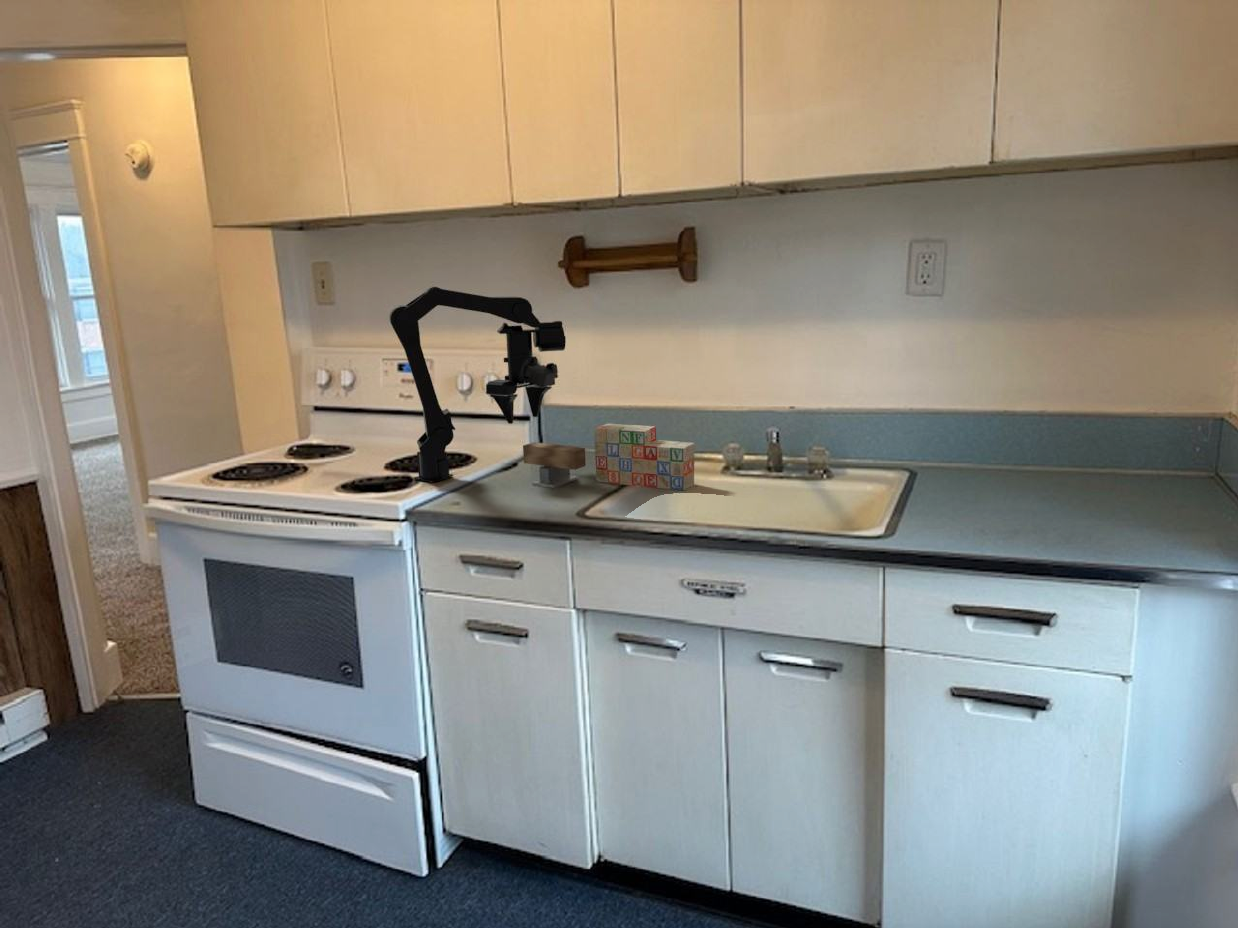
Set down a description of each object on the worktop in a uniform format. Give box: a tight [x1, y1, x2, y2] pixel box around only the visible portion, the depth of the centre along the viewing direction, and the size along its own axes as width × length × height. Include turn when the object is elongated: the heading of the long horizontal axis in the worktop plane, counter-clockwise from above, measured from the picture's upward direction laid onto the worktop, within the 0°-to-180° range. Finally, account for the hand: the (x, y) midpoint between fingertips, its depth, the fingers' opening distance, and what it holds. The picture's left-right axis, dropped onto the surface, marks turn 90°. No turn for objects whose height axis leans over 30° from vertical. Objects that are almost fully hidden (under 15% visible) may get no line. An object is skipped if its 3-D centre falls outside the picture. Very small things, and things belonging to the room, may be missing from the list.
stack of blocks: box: [593, 423, 695, 491], centre depth 189 cm, size 21×6×12 cm, turn 62°
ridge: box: [531, 466, 579, 489], centre depth 192 cm, size 6×9×4 cm, turn 148°
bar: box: [522, 441, 587, 471], centre depth 191 cm, size 14×4×4 cm, turn 58°
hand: (523, 420), depth 201 cm, fingers open, 9 cm apart
